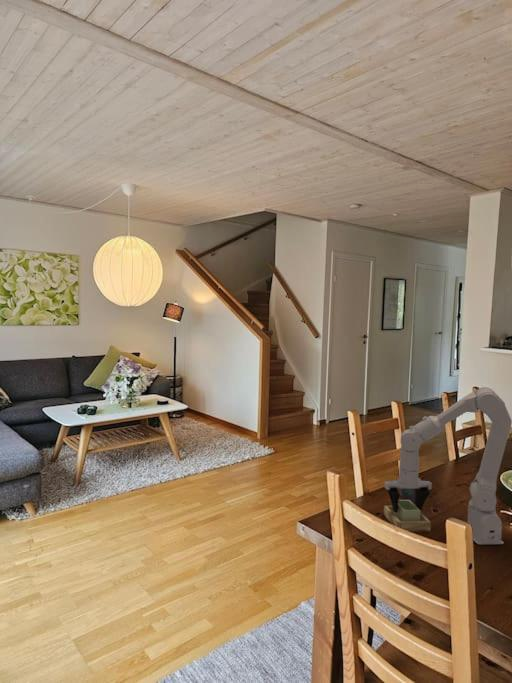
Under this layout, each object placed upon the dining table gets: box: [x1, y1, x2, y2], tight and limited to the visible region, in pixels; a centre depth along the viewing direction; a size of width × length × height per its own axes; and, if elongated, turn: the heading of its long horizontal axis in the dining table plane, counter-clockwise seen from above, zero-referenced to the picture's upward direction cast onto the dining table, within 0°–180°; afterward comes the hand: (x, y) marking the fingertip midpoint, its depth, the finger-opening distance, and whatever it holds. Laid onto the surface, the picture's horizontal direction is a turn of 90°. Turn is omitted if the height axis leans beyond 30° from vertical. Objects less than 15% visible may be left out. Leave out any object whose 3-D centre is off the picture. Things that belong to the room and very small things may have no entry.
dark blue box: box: [399, 476, 422, 506], centre depth 160 cm, size 9×3×11 cm, turn 24°
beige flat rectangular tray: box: [383, 505, 432, 533], centre depth 143 cm, size 12×10×3 cm
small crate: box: [393, 499, 422, 521], centre depth 143 cm, size 8×5×5 cm
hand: (406, 510), depth 143 cm, fingers open, 7 cm apart
